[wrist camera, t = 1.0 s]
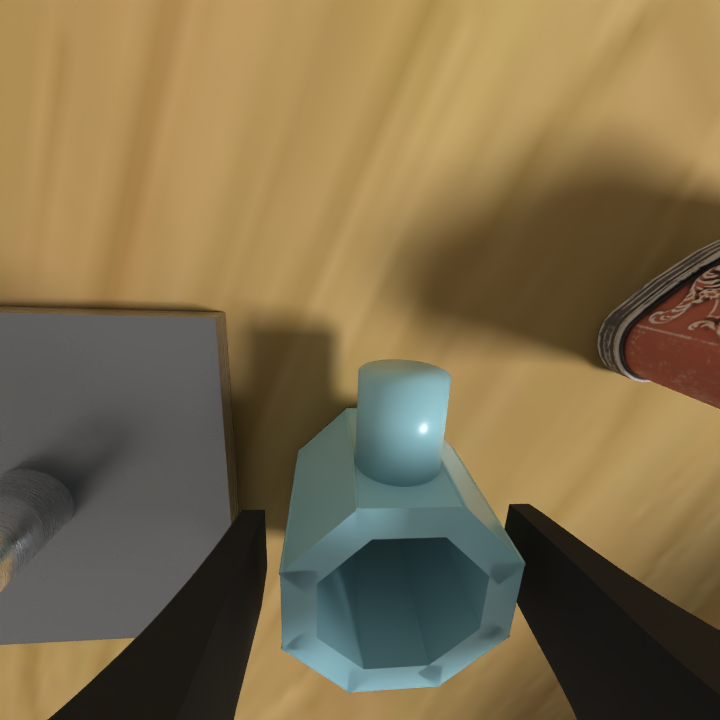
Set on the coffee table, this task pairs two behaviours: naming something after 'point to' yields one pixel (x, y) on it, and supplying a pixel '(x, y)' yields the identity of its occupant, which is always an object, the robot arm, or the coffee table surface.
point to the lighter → (671, 329)
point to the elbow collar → (393, 543)
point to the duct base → (109, 466)
